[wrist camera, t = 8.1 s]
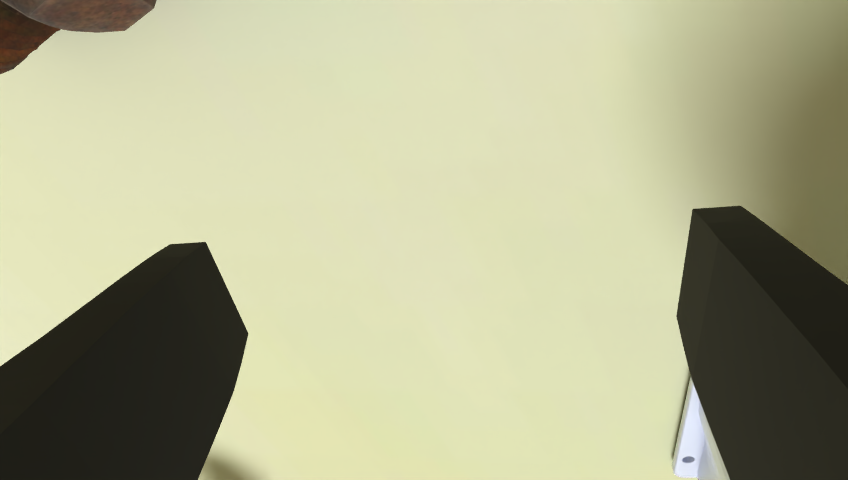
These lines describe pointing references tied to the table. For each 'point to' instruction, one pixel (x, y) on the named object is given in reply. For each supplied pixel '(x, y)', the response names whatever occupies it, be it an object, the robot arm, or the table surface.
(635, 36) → the table surface
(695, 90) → the table surface
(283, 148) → the table surface
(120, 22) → the bolt
